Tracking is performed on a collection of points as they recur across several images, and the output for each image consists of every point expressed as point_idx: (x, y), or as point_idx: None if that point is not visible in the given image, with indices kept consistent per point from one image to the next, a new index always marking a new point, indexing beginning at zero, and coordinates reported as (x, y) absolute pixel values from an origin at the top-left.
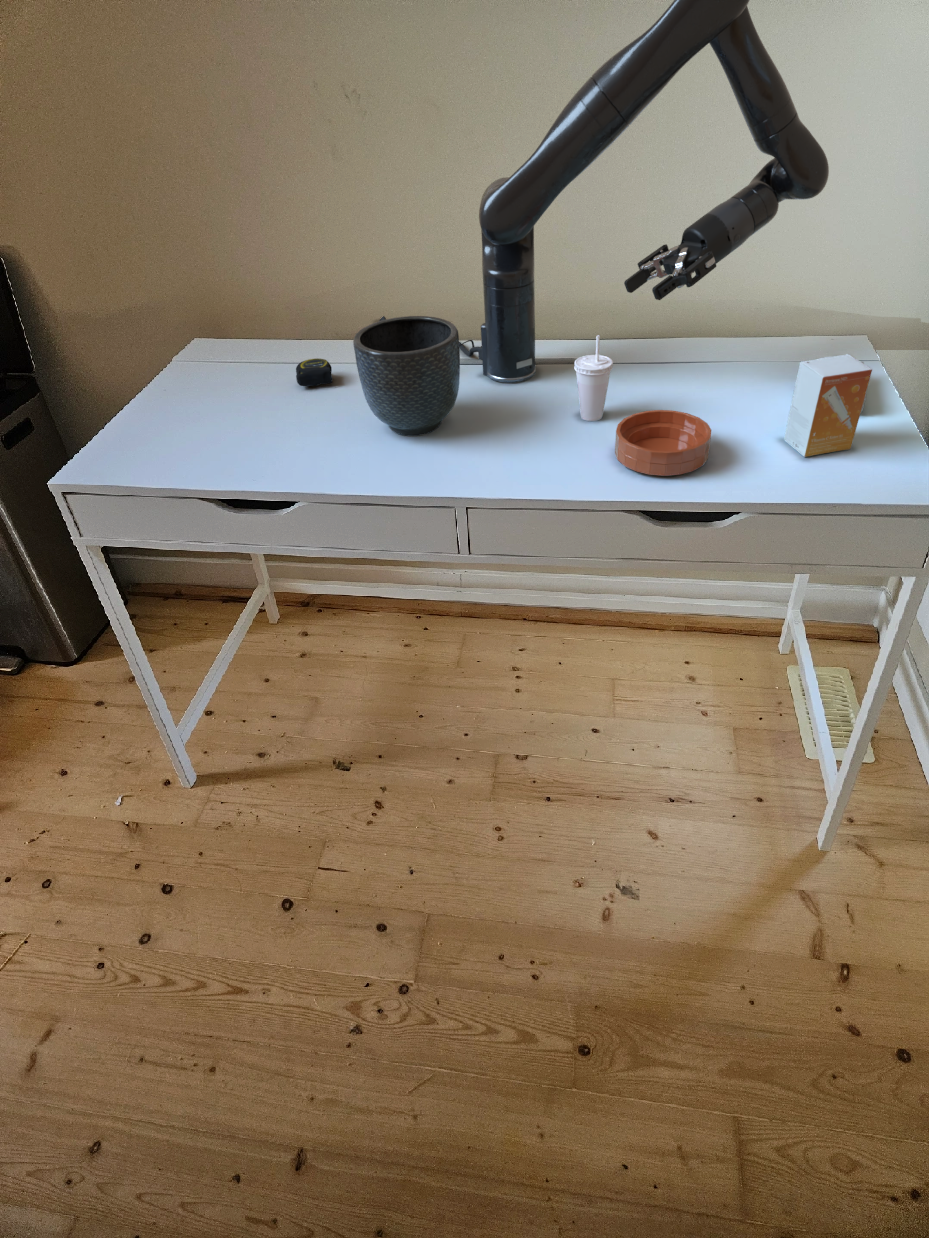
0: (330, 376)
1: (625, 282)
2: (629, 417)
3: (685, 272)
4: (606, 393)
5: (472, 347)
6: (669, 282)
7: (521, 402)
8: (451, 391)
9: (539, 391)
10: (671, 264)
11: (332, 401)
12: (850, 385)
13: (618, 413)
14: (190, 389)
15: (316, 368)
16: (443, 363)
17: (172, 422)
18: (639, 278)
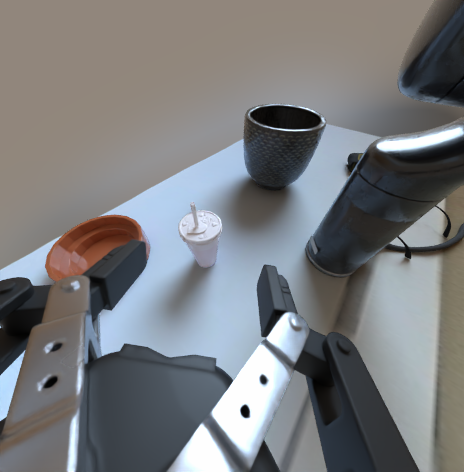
0: (350, 164)
1: (269, 265)
2: (139, 238)
3: (7, 283)
4: (192, 253)
5: (406, 253)
6: (96, 264)
7: (266, 233)
8: (248, 161)
9: (279, 254)
10: (143, 350)
11: (324, 167)
12: None
13: (194, 280)
14: (364, 140)
15: (356, 157)
16: (246, 133)
17: (326, 132)
18: (266, 303)
